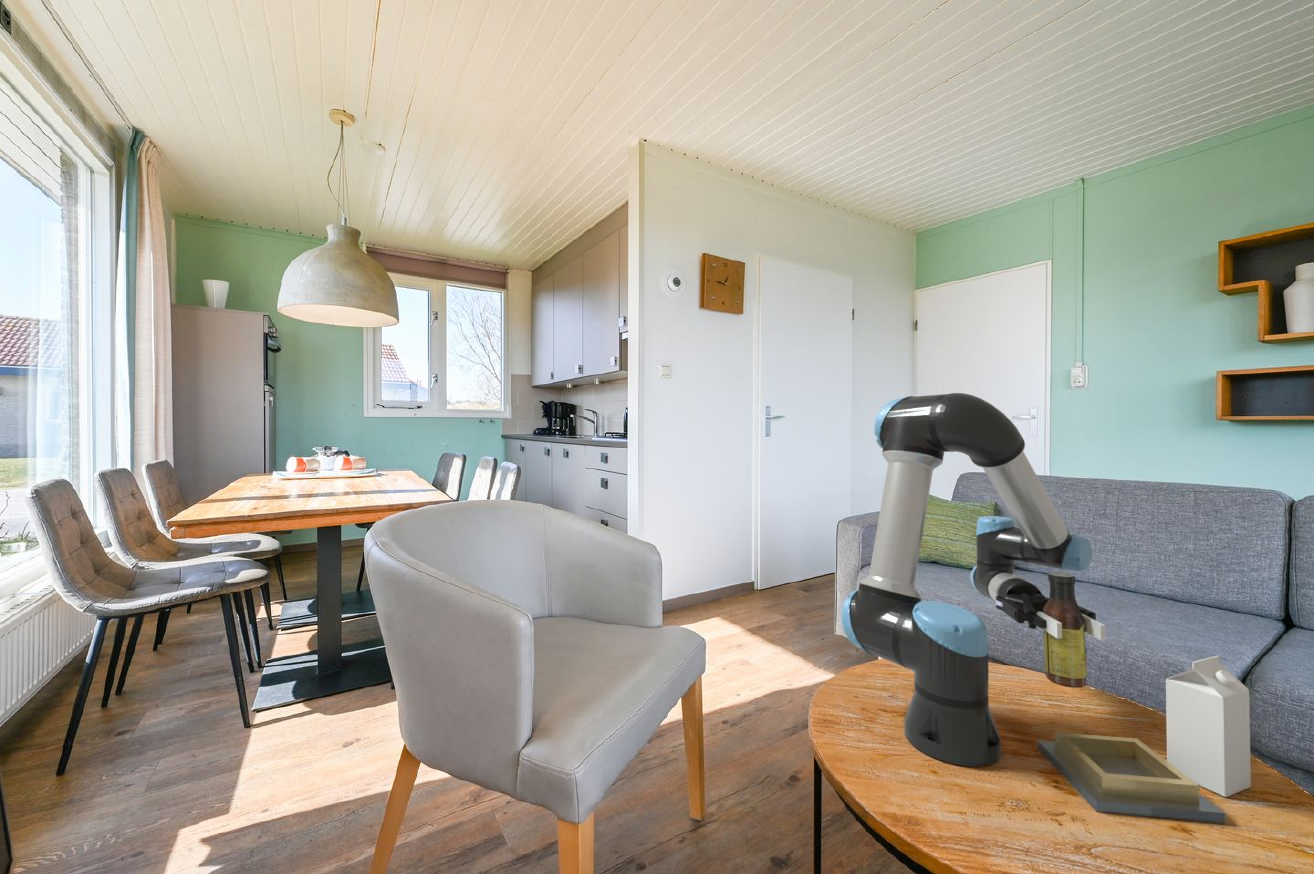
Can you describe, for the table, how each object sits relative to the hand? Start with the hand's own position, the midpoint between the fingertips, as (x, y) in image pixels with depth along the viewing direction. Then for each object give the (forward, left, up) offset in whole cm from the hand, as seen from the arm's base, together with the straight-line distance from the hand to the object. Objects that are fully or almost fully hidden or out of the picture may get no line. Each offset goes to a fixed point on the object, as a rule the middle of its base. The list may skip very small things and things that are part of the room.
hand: (1081, 631), depth 94 cm
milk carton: (+14, -7, -20) cm, 26 cm away
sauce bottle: (0, +5, -11) cm, 12 cm away
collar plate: (0, -10, -20) cm, 22 cm away
